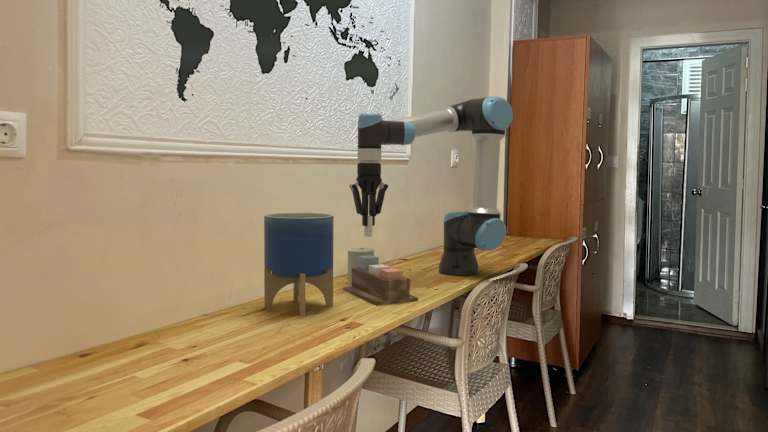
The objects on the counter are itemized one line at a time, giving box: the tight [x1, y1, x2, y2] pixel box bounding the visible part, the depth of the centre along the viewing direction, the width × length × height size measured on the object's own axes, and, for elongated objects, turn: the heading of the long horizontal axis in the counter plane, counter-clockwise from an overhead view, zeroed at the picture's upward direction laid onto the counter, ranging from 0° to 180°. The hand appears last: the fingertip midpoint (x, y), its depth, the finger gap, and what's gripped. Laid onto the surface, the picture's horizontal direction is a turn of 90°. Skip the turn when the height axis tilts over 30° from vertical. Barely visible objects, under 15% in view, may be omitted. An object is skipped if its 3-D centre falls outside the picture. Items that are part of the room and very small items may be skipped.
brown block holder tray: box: [342, 267, 419, 306], centre depth 191 cm, size 14×24×7 cm, turn 27°
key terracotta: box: [380, 267, 404, 280], centre depth 184 cm, size 5×5×6 cm
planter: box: [263, 211, 334, 317], centre depth 173 cm, size 19×19×26 cm
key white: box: [369, 263, 391, 275], centre depth 191 cm, size 5×5×6 cm
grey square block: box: [358, 255, 380, 271], centre depth 198 cm, size 5×5×6 cm
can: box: [346, 247, 375, 286], centre depth 210 cm, size 9×9×12 cm
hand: (368, 236), depth 197 cm, fingers closed
